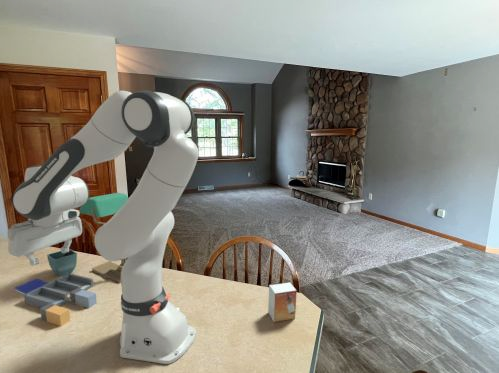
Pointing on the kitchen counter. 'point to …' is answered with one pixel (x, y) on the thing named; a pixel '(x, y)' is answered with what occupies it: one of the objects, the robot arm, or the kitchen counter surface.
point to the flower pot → (62, 262)
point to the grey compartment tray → (57, 290)
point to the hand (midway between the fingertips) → (50, 258)
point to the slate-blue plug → (83, 298)
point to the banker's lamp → (102, 208)
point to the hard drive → (30, 286)
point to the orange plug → (55, 314)
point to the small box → (282, 302)
